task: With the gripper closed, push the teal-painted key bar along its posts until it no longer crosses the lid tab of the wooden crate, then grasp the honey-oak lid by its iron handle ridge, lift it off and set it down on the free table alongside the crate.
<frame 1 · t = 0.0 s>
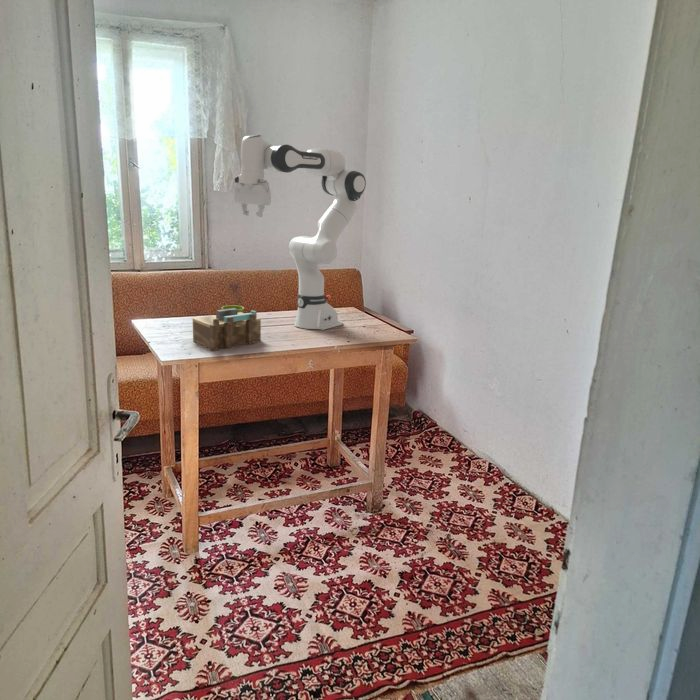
hand: (252, 216, 234), 48 cm above the table, fingers open, 8 cm apart
plant pot: (232, 327, 258), on the table
lid: (226, 321, 234), point 8 cm above the table, touching wooden crate
wooden crate: (227, 340, 237), on the table
key bar: (240, 316, 228), point 11 cm above the table, slide at 0.0 cm
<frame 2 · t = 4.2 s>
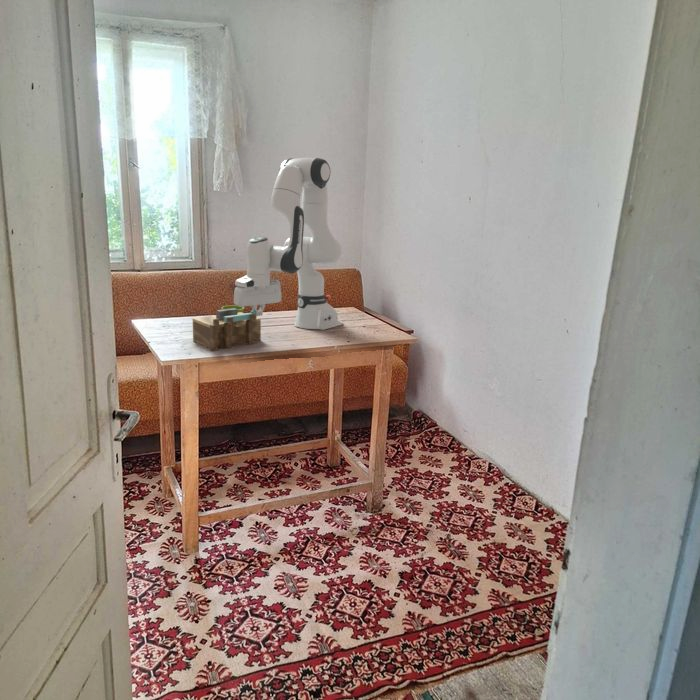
hand: (258, 315, 234), 11 cm above the table, fingers closed
key bar: (240, 316, 228), point 11 cm above the table, slide at 0.0 cm, touching gripper
everything else where it was.
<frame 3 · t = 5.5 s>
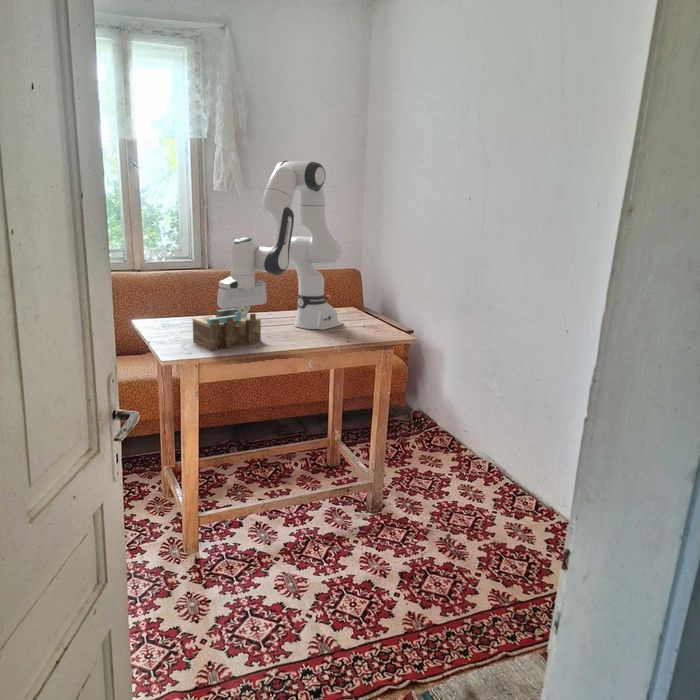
hand: (242, 317, 229), 11 cm above the table, fingers closed
key bar: (224, 318, 223), point 11 cm above the table, slide at 7.1 cm, touching gripper
everything else where it was.
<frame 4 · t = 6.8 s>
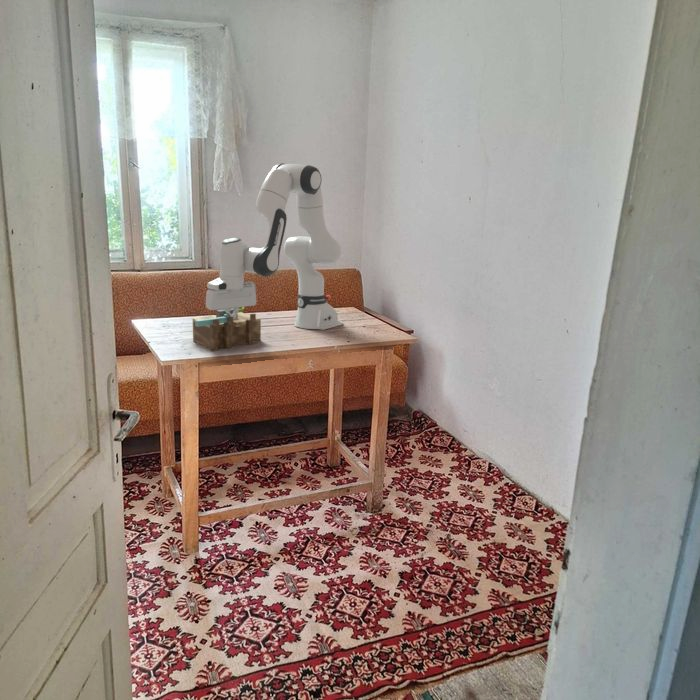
hand: (232, 319, 226), 11 cm above the table, fingers closed
key bar: (212, 320, 220), point 11 cm above the table, slide at 11.9 cm, touching gripper
everything else where it was.
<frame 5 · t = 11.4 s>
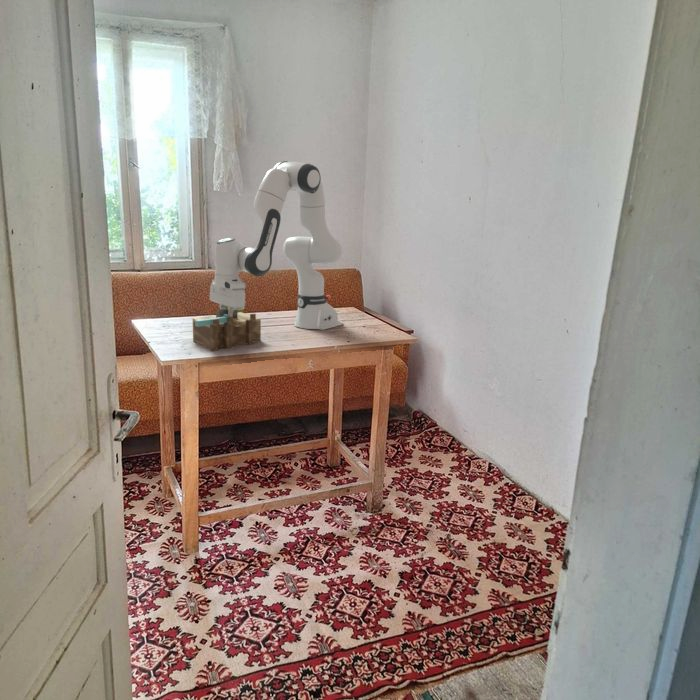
hand: (227, 316, 234), 10 cm above the table, fingers closed on lid, 2 cm apart
lid: (226, 321, 234), point 8 cm above the table, touching gripper, wooden crate
key bar: (212, 320, 220), point 11 cm above the table, slide at 11.9 cm
everything else where it was.
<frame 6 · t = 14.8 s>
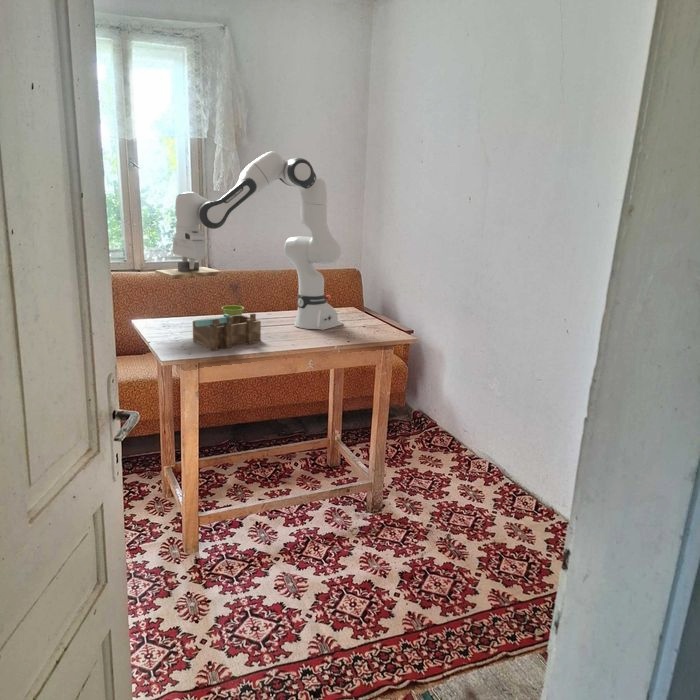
hand: (188, 268, 242), 26 cm above the table, fingers closed on lid, 2 cm apart
lid: (188, 273, 243), point 24 cm above the table, touching gripper
everything else where it was.
when the fingers open (4 cm above the table, at t = 18.2 s): lid drops 2 cm, on the table.
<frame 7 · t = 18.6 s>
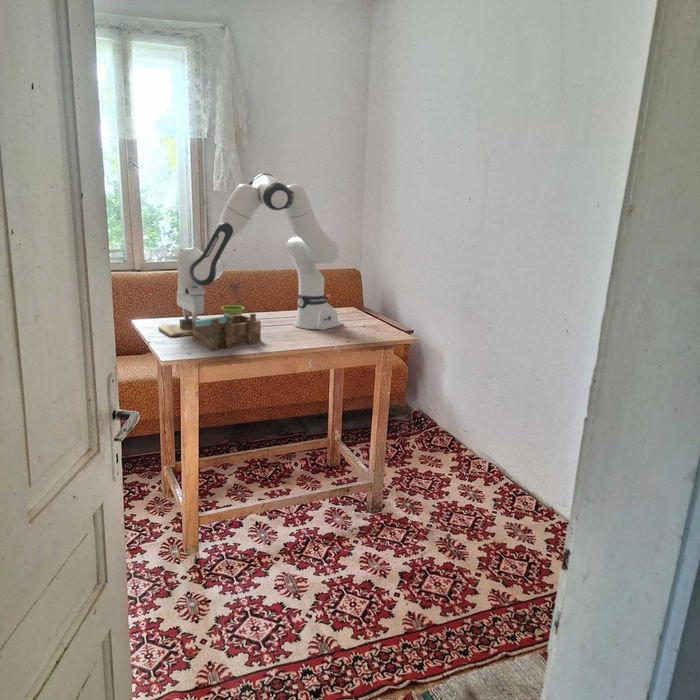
hand: (190, 320, 248), 4 cm above the table, fingers open, 7 cm apart
lid: (190, 329, 249), on the table
everything else where it was.
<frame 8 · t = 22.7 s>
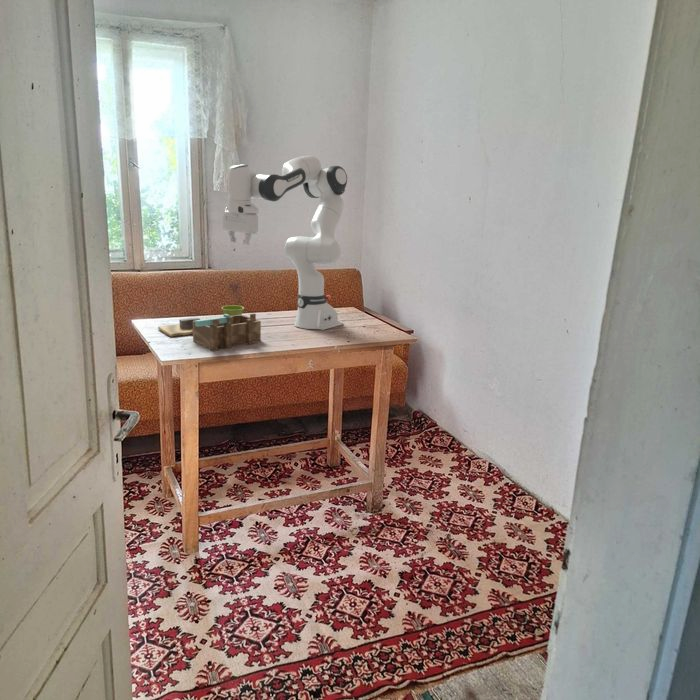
hand: (239, 243, 237), 37 cm above the table, fingers open, 8 cm apart
nothing on the table moved.
at the end: key bar slide at 11.9 cm; lid inside the target area (0.2 cm from its centre), on the table; lid tilted 0° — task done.
